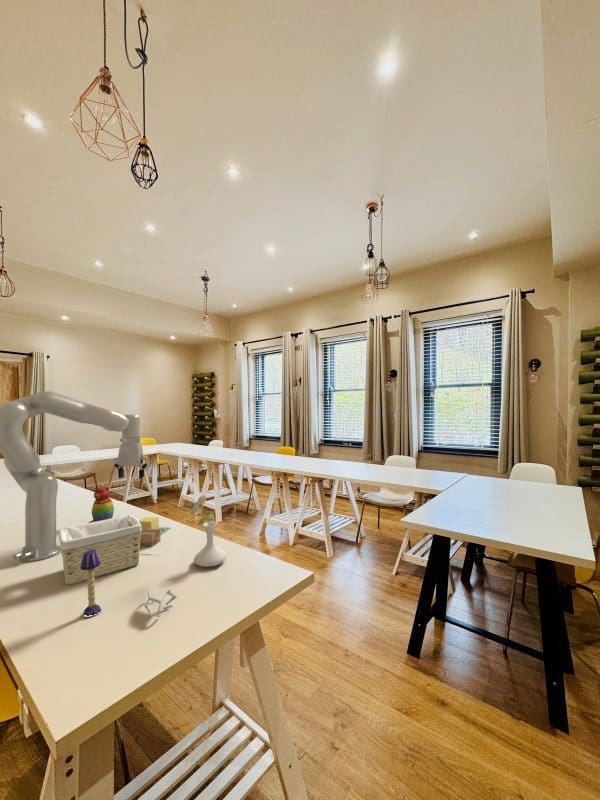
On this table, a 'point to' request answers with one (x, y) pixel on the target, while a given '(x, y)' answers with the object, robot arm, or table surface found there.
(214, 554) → the flower in vase
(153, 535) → the walnut cube
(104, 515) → the stacking bear
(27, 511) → the robot arm
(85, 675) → the table surface
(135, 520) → the storage basket
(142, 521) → the mustard cube
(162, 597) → the white legged frame
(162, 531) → the baseplate
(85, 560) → the toy lamp
